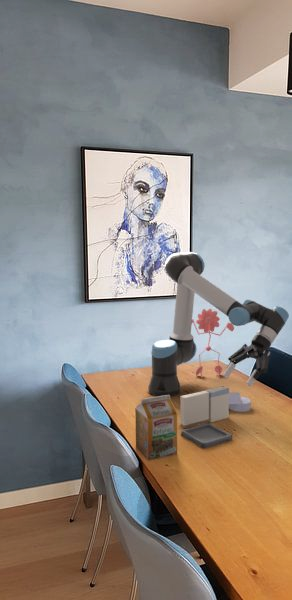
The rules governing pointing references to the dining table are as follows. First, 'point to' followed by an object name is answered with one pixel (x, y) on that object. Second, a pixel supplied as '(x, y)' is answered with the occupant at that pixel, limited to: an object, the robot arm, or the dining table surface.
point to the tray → (206, 435)
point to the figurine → (208, 323)
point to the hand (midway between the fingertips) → (236, 380)
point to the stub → (218, 403)
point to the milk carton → (156, 427)
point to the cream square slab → (194, 409)
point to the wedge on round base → (239, 402)
